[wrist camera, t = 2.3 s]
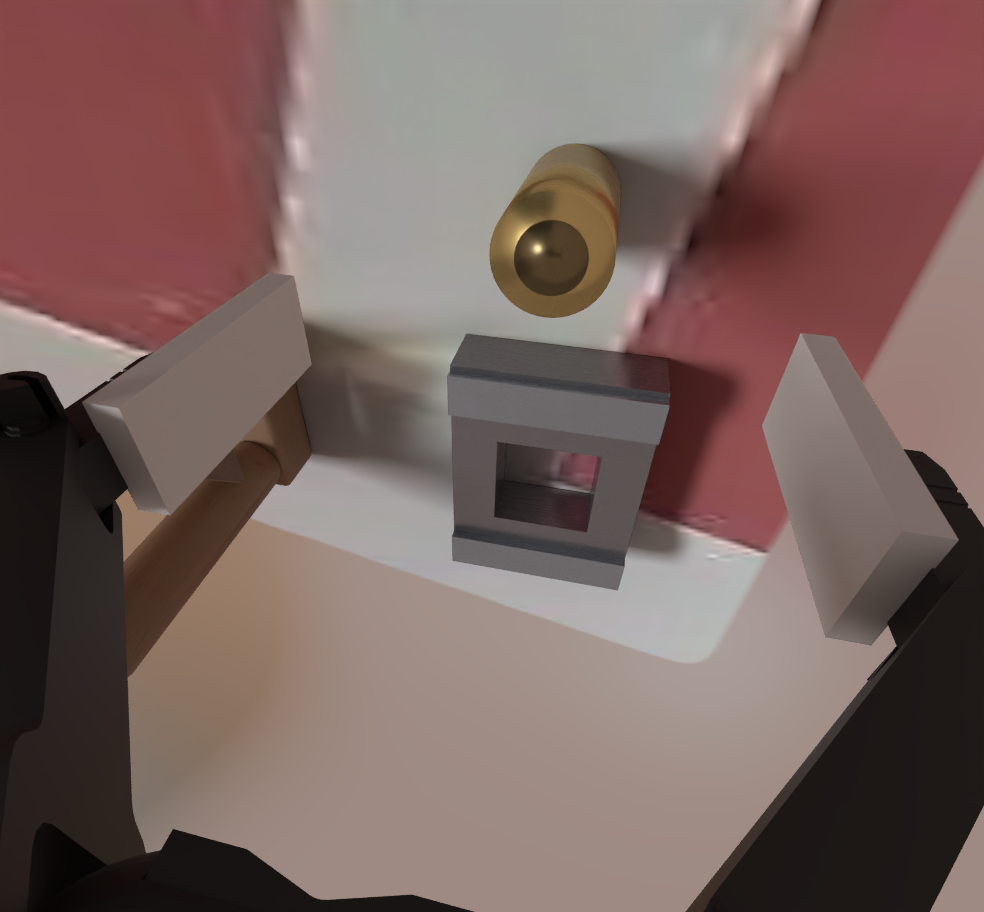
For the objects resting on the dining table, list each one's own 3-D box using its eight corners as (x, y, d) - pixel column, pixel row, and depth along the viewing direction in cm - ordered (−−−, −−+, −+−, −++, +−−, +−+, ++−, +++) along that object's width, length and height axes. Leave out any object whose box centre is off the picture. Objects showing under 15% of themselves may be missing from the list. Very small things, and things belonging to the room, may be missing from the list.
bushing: (527, 140, 24) (490, 186, 18) (629, 147, 24) (626, 197, 17) (521, 242, 27) (487, 312, 21) (612, 250, 26) (604, 325, 20)
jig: (466, 334, 31) (447, 371, 28) (667, 358, 29) (671, 400, 26) (466, 520, 40) (452, 563, 37) (618, 546, 39) (616, 593, 36)
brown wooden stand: (282, 313, 32) (24, 537, 19) (314, 454, 39) (142, 693, 26) (225, 306, 33) (-67, 519, 19) (266, 446, 40) (73, 676, 26)
